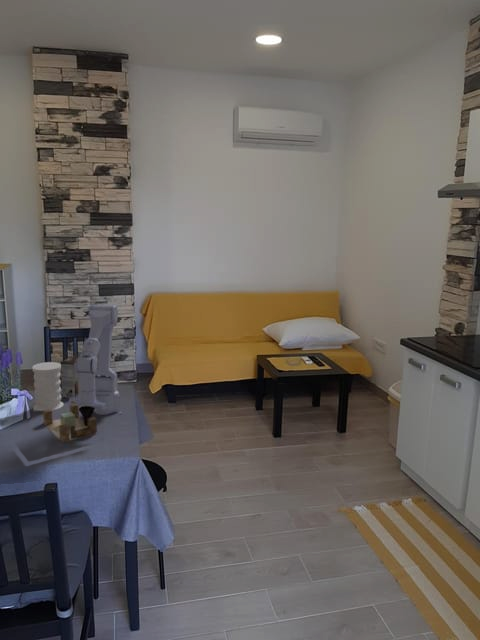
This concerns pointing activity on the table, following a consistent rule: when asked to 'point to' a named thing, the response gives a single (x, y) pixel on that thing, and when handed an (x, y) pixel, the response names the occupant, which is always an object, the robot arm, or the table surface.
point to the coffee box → (69, 378)
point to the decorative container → (47, 386)
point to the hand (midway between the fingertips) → (87, 425)
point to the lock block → (68, 419)
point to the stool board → (58, 423)
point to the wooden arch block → (90, 429)
